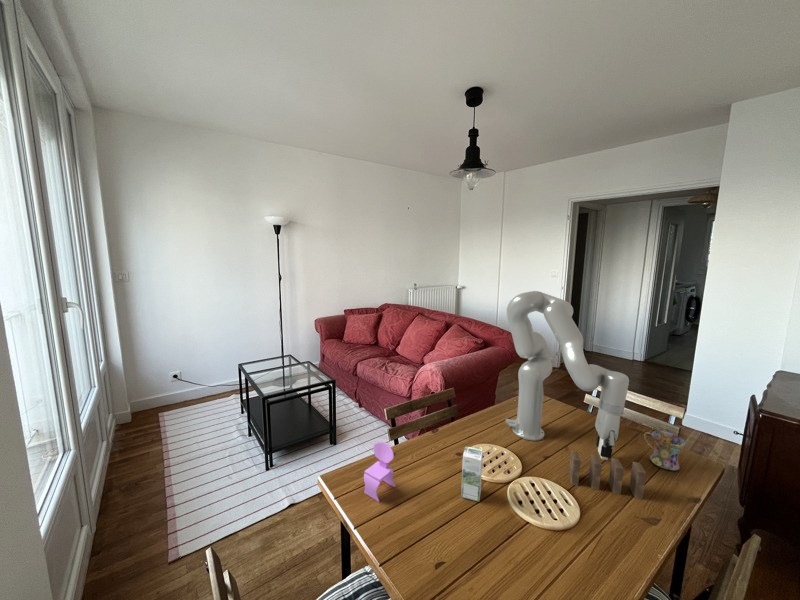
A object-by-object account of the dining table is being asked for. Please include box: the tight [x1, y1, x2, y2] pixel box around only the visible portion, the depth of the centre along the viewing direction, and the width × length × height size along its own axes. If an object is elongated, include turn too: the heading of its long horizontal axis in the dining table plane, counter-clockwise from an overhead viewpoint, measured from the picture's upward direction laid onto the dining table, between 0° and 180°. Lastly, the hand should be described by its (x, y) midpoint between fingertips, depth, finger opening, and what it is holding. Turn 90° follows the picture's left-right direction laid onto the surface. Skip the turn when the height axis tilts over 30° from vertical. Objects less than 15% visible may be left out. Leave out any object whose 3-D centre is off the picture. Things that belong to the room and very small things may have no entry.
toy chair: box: [363, 441, 396, 503], centre depth 103 cm, size 8×9×15 cm
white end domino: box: [597, 437, 609, 461], centre depth 118 cm, size 2×5×9 cm, turn 161°
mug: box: [643, 430, 686, 471], centre depth 118 cm, size 12×9×11 cm
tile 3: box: [587, 453, 603, 491], centre depth 107 cm, size 2×5×9 cm, turn 161°
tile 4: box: [568, 450, 582, 487], centre depth 109 cm, size 2×5×9 cm, turn 162°
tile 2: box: [608, 457, 624, 496], centre depth 105 cm, size 2×5×9 cm, turn 161°
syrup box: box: [460, 446, 484, 503], centre depth 102 cm, size 6×6×14 cm
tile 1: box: [629, 461, 647, 500], centre depth 103 cm, size 2×5×9 cm, turn 161°
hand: (603, 451), depth 119 cm, fingers closed on white end domino, 5 cm apart
